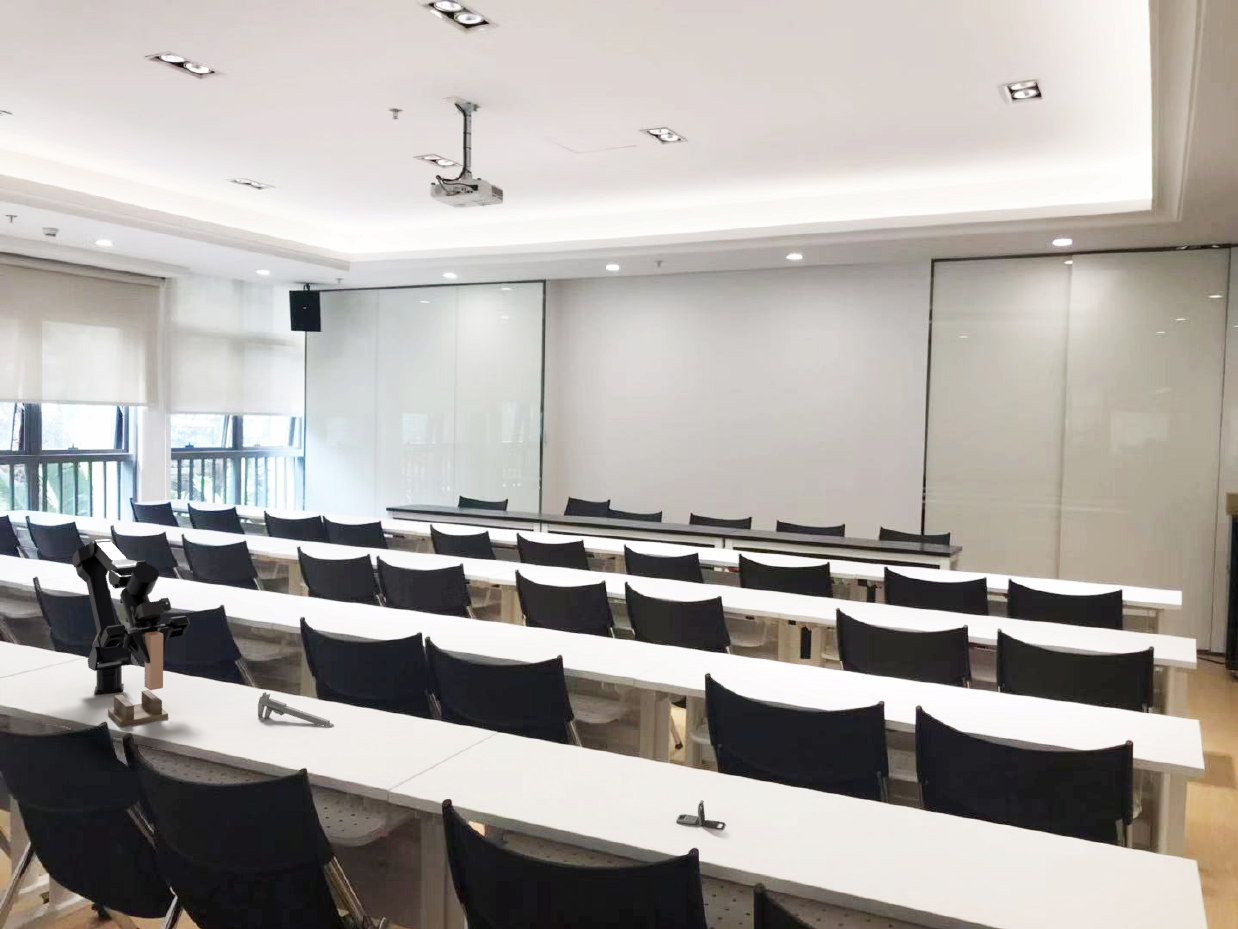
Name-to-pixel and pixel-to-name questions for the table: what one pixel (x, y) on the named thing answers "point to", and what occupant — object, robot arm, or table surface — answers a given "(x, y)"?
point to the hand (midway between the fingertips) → (156, 661)
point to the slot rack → (137, 710)
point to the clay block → (154, 660)
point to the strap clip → (699, 819)
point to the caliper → (287, 711)
